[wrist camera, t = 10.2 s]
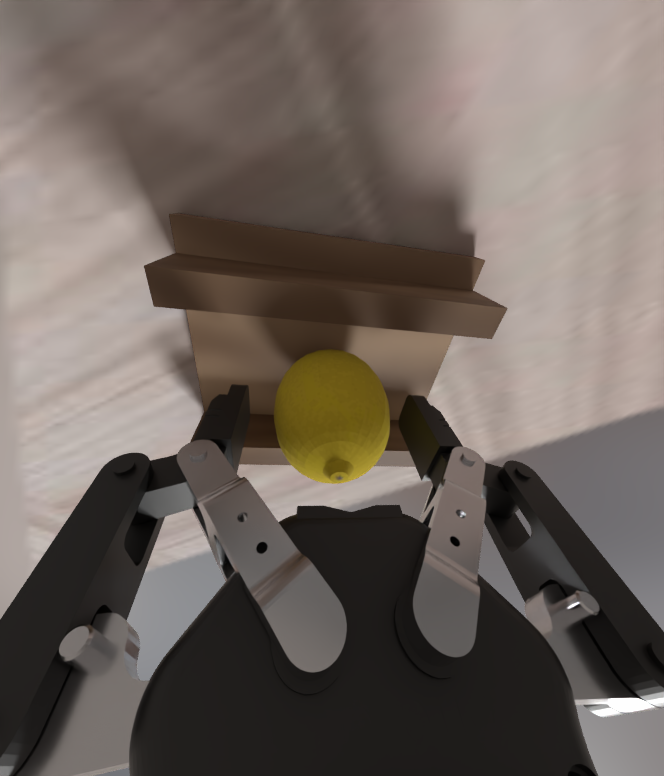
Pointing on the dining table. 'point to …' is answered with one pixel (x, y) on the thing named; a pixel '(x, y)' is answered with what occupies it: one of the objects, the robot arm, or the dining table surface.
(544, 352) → the dining table surface
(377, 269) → the cradle
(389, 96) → the dining table surface
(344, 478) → the lemon
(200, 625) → the robot arm
